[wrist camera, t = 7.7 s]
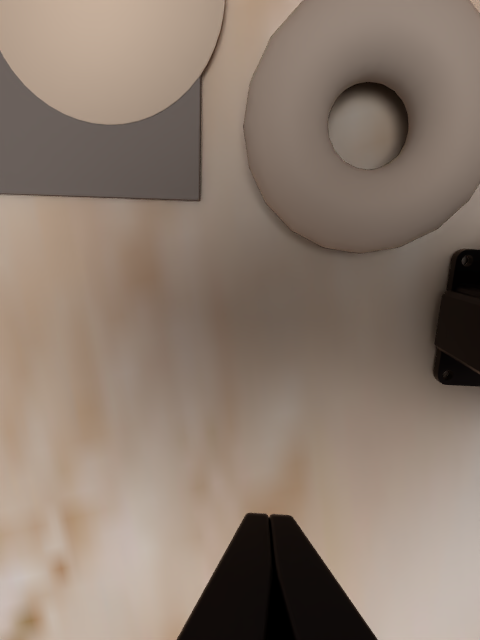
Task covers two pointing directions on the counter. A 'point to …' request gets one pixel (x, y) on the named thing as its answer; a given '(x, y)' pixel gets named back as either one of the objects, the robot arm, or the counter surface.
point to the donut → (358, 67)
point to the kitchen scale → (104, 96)
